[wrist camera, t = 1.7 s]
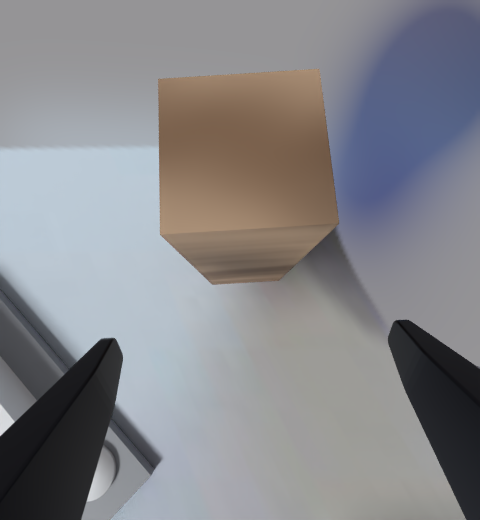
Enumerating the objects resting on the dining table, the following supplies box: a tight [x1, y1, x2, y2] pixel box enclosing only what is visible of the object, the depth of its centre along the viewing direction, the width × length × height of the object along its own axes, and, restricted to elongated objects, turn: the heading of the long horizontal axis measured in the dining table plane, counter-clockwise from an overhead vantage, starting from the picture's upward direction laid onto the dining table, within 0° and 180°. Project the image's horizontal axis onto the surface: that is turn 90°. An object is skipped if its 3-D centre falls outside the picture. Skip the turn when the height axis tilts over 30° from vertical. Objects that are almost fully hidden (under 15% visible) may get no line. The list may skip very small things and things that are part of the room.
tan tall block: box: [158, 69, 339, 285], centre depth 16 cm, size 6×5×14 cm
